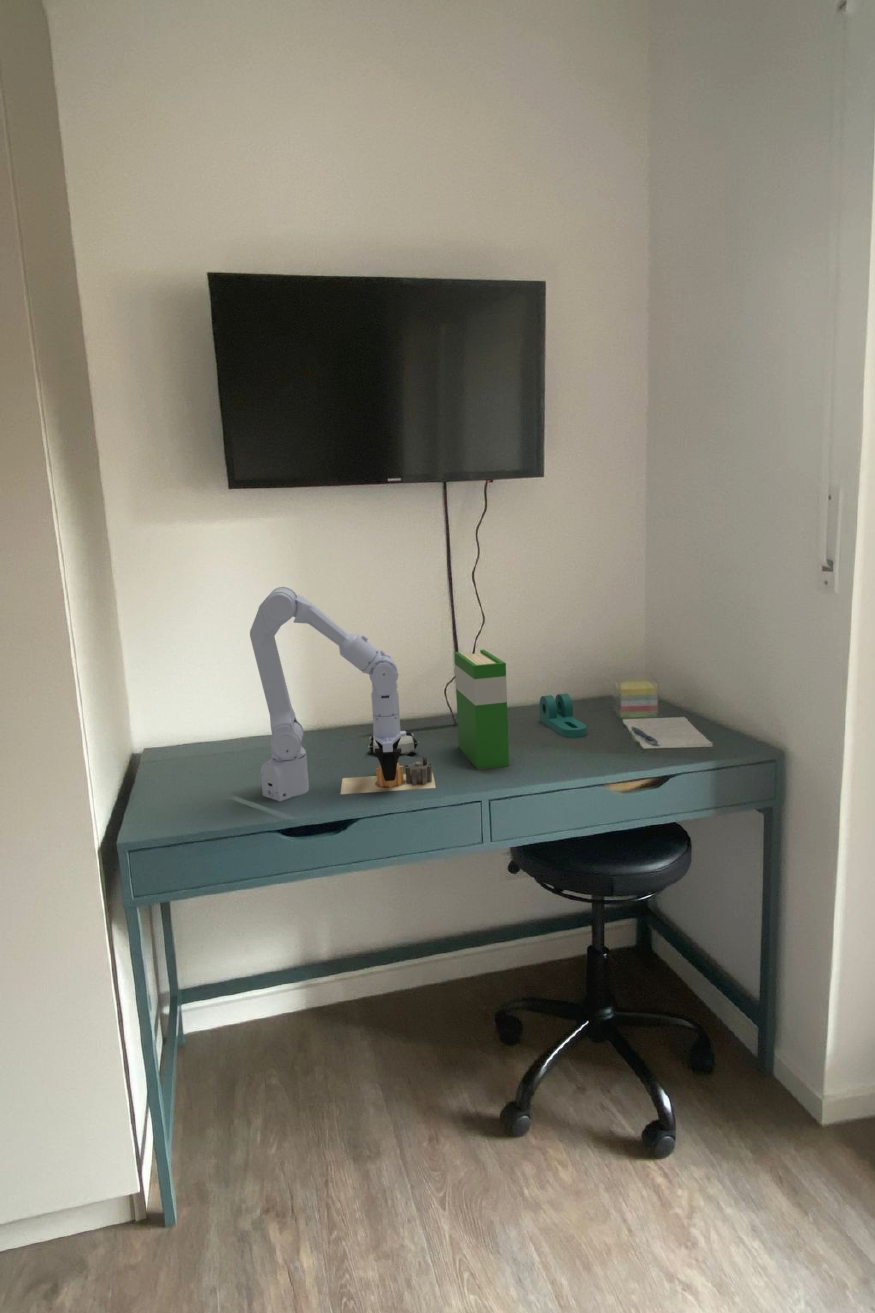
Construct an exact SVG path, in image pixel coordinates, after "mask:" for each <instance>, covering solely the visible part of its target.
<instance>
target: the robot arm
mask: <svg viewBox="0 0 875 1313" xmlns="http://www.w3.org/2000/svg"><path fill="white" fill-rule="evenodd" d="M293 617H294V618H293ZM292 618H293V619H294V620H293V623H295V624H296V623H297V624H307V625H310V626H311V627H312V628H313V629H315V630H316V631H317V632H319V633H320V634H322V635H323V636H325V637H326V638H327V639H328V640H330V641H331V642H333V643H334V644H336V645H337V646H338V648H339V655H340V656H341V657H342V658H343V659H345V660H346V661H348V663H350V664H351V665H352V666H354V667H355V668H357V669H358V670H359V671H360V672H362V673H363V674H367V675H368V676H369V680H370V682H371V688H372V690H371V694H370V696H371V710H372V725H373V727H372V728H373V733H372V736H373V738H374V739H375V741H376V743H377V744H378V746H379V748H376V749H375V750H374V751H375V753H374V755H375V757H376V758H377V760H378V762H379V765H381V768H382V772H383V776H384V779H385V781H394V780H395V777H396V769H397V763H398V761H399V758H400V756H401V755H402V754H401V751H402V750H401V748H399V749H397V747H398V743H399V741H400V739H401V737H402V736H406V733H407V731H406V730H401V716H400V699H399V698H400V696H399V691H398V679H399V672H398V669H397V664H396V663H395V662H396V661H394V660H393V658H392V657H391V656H390V655H387V654H386V652H385V651H384V650H382V649H381V650H379V649H378V648H376V647H375V646H374V645H373V644H372V643H370V642H369V641H368V639H369V638H368V637H367V636H366V635H365V634H362V635H360V634H359V633H357V632H356V633H354V632H353V633H348V632H346V631H345V630H344V629H343V628H342V627H340V626H339V625H338V624H337V623H336V622H335V621H334V620H333V619H332V618H330V617H329V616H327V615H326V614H325V613H324V612H323V611H322V610H321V609H320V608H318V607H317V606H316V605H315V604H313V603H312V602H311V601H309V600H308V599H306V598H305V597H304V596H302V595H300V594H298V595H297V593H296V592H295V591H294V590H293V589H291V588H290V587H286V586H279V587H276V588H275V589H273V590H272V591H271V592H270V593H269V594H268V595H267V596H266V597H265V599H264V600H263V601H262V602H261V603H260V605H259V606H258V609H257V612H256V614H255V617H254V620H253V622H252V625H251V627H250V629H249V636H250V642H251V647H252V650H253V654H254V658H255V661H256V665H257V669H258V673H259V677H260V681H261V685H262V689H263V693H264V697H265V701H266V702H265V703H266V705H267V709H268V713H269V719H270V720H269V722H270V723H269V724H270V730H271V739H270V743H269V744H270V749H271V757H270V759H269V760H268V761H266V762H264V763H263V764H262V765H261V768H260V778H261V779H260V780H261V791H262V792H261V793H262V796H263V797H266V798H269V799H272V800H273V801H274V800H275V801H278V802H283V801H285V800H288V799H291V798H293V797H294V798H295V797H298V796H301V795H305V794H306V793H307V792H309V790H310V782H309V773H308V762H307V760H308V759H307V750H306V749H305V748H304V747H303V746H302V742H303V739H304V737H305V731H304V730H305V729H304V728H303V725H302V724H301V723H300V722H299V721H298V719H297V716H296V713H295V710H294V708H293V706H292V703H291V698H290V694H289V690H288V686H287V682H286V678H285V674H284V669H283V667H282V662H281V658H280V654H279V650H278V646H277V641H276V638H275V636H276V634H277V633H278V632H279V630H280V629H281V627H282V626H283V625H284V624H286V623H287V622H289V621H290V620H291V619H292Z"/></svg>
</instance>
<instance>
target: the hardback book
mask: <svg viewBox="0 0 875 1313" xmlns="http://www.w3.org/2000/svg"><path fill="white" fill-rule="evenodd" d="M454 665H455V667H454V670H455V671H454V674H455V694H456V695H455V696H456V715H457V737H458V748H459V750H461V752H462V753H463V754H464V755H465V756H466V758H467V759H468V760H469V761H470V762H471V764H472V765H473V766H474V768H476V769H477V770H479V771H480V770H485V769H487V770H488V769H493V768H503V767H509V766H510V756H509V755H510V751H509V727H508V726H509V725H508V724H509V723H508V722H509V720H508V719H509V718H508V692H507V690H508V688H507V687H508V686H507V685H508V684H507V663H506V662H505V661H503V660H501V659H500V658H498V657H497V656H495V655H494V654H493V653H490V652H489V651H487V650H485V649H480V651H479V652H478V653H477V652H476V653H467V654H462V653H461V652H459V651H455V652H454Z"/></svg>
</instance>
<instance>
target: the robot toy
mask: <svg viewBox="0 0 875 1313" xmlns="http://www.w3.org/2000/svg"><path fill="white" fill-rule="evenodd" d="M368 739H369V740H370V741H371V742H369V744H368V745H367V749H369V751H370V752H372V753H374V754H375V751H374V750H375V749H376V748H379V746H378V744H377V743H376V741H375V739H374V738H373V735H371V736H369V738H368ZM418 745H420V741H417V739H416V738H415V737H414V733H412V732H409V731H408V732H407V731H406V736H402V737H401V739H400V741H399V743H398V747H397V749H399V748H401V750H402V751H401V754H400V755H403V756H408V755H409V754H410V753H411V752H412V753H413V752H414V750H416V748H417V747H418Z"/></svg>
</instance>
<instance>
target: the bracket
mask: <svg viewBox="0 0 875 1313" xmlns="http://www.w3.org/2000/svg"><path fill="white" fill-rule="evenodd" d="M573 707H574V706H573V701H572V698H571V696H570V695H569V693H568V692H567V693H558V694H556V696H555V698H554V696H553V695H552V694H550V695H542V696H541V697H540V698H539V722H540V723H543V725H545V726H547V728H549V729H550V730H552V731H553V732H555V733H557V734H558V735H559V736H561V737H563V738H568V739H578V738H584V737H586V736H587V733H588V732H587V731H588V730H587V726H588V725H587V724H585V723H583V722H582V721H580V720H578V719H577V718H575V717H574V708H573Z"/></svg>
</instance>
